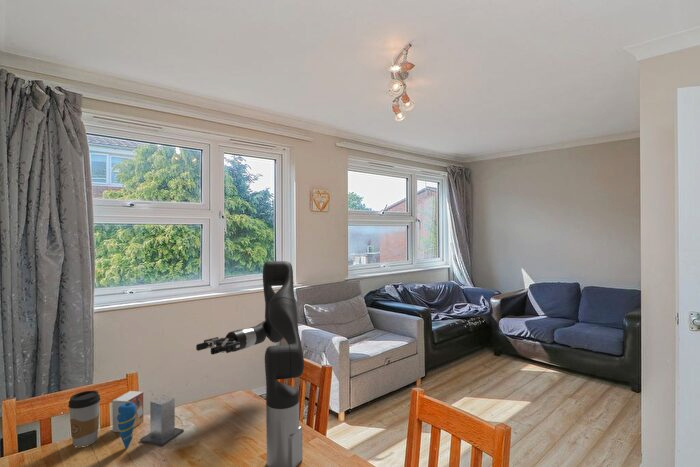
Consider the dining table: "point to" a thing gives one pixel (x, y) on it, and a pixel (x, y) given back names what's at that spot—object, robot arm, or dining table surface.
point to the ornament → (126, 421)
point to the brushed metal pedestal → (162, 417)
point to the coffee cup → (84, 417)
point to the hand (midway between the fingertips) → (203, 349)
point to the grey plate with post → (163, 441)
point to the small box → (131, 395)
